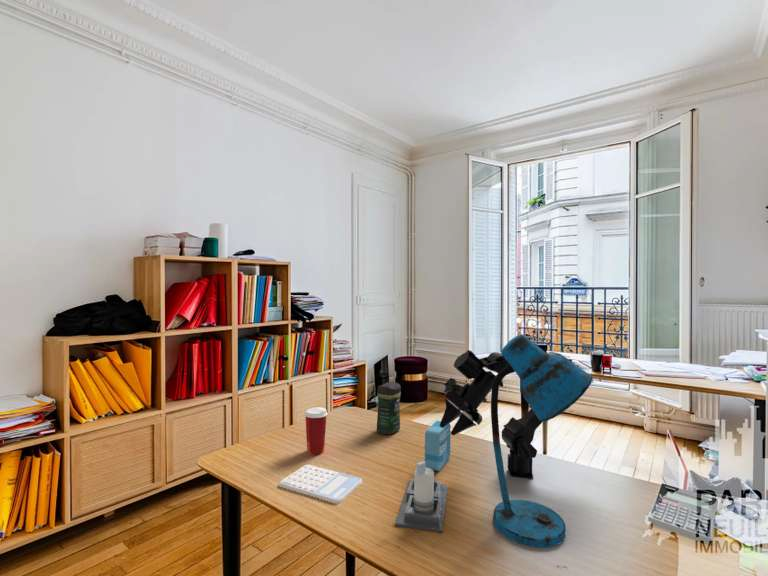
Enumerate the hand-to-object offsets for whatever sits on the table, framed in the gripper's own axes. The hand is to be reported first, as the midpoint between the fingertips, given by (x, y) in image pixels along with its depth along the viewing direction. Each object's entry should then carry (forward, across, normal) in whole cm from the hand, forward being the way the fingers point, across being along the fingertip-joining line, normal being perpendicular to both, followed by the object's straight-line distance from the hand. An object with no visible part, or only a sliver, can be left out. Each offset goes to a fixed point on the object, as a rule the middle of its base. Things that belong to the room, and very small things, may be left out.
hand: (446, 430), depth 115 cm
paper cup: (+35, 0, -32) cm, 47 cm away
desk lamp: (+2, +1, +32) cm, 32 cm away
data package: (+10, -14, -2) cm, 17 cm away
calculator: (+34, +12, -13) cm, 39 cm away
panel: (+17, +7, +10) cm, 21 cm away
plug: (+18, +10, +13) cm, 24 cm away
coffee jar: (+17, -27, -30) cm, 44 cm away
